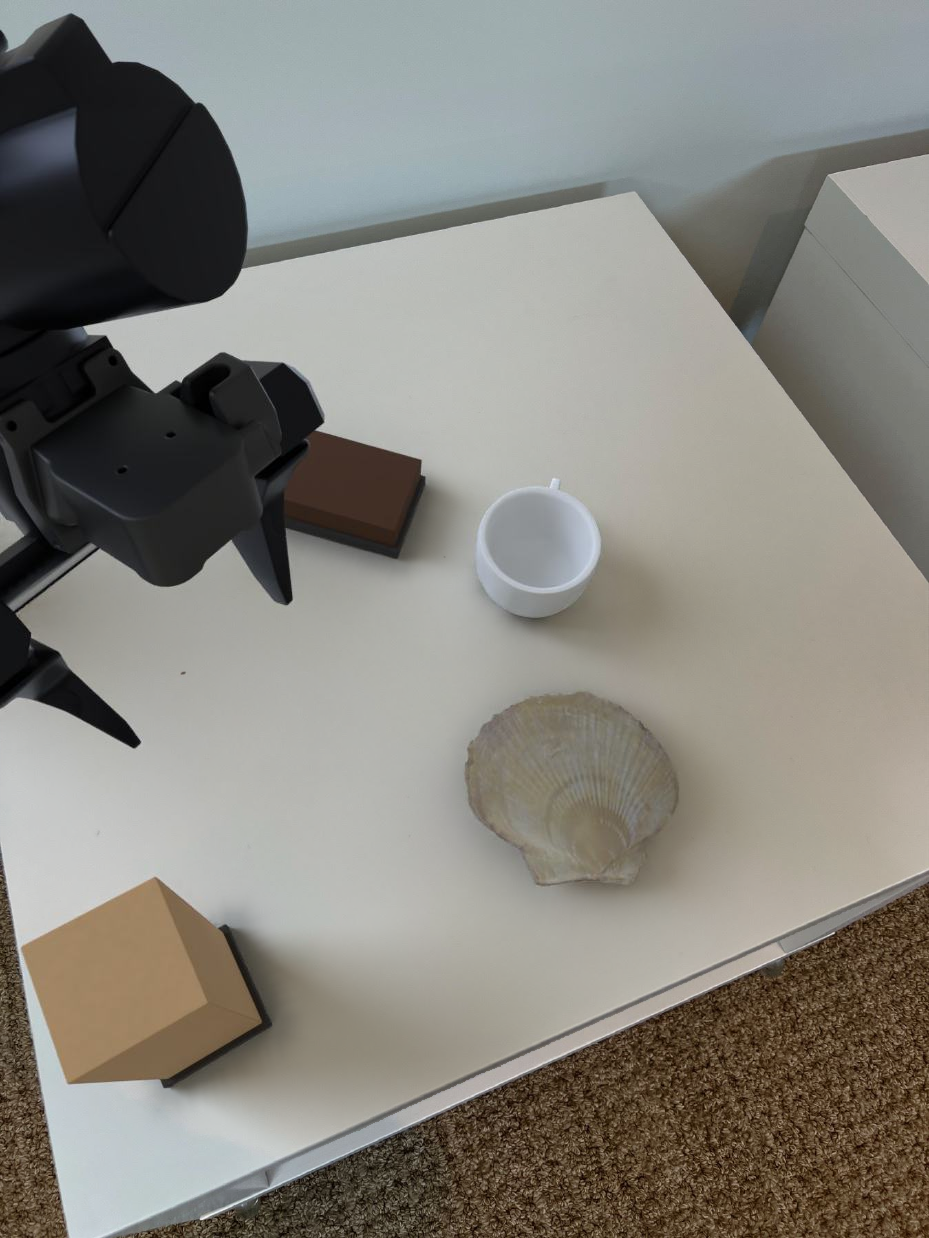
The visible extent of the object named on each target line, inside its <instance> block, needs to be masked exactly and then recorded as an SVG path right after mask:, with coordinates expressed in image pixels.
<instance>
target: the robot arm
mask: <svg viewBox="0 0 929 1238" xmlns="http://www.w3.org/2000/svg"><path fill="white" fill-rule="evenodd" d="M8 49H10V48H9V40H8V38H7V37H6V35H5V33H4V32H3V31H2V29H0V514H1V515H2V516H3V518H4V519H5V520H6V521H10V522H11V523H14V524H15V526H16V527H17V528H18V530H19V531H20V532H21V533H22V535H23V536H22V537H20V538H19V539H18V540H16V541H15V542H14V543H12V544H11V545H10V546H8V547H7V548H6V549H4V550H3V551H1V552H0V710H2V709H3V708H5V707H6V706H8V705H9V704H11V702H13V701H14V700H16V699H18V698H20V699H24V700H25V699H26V700H31V701H35V702H38V703H41V704H43V705H47V706H49V707H52V708H55V709H57V710H60V711H63V712H65V713H67V714H69V715H71V716H73V717H75V718H77V719H79V720H80V721H82V722H83V723H86V724H88V725H90V726H91V727H93V728H95V729H97V730H99V731H101V732H102V733H104V734H106V735H108V736H109V737H111V738H113V739H115V740H117V741H119V742H121V743H122V744H124V745H126V746H128V747H130V748H131V749H133V750H136V749H137V748H138V747H139V746H140V745H141V744H142V741H141V739H140V737H139V736H138V735H137V733H136V732H135V731H134V729H133V728H132V727H131V725H130V724H129V723H128V721H127V720H125V718H124V717H122V716H121V715H120V714H119V713H118V712H117V711H116V710H115V709H114V708H113V707H112V706H111V705H110V704H109V703H107V702H106V701H105V700H104V698H102V697H101V696H100V695H99V694H98V693H96V691H94V690H93V689H92V688H91V687H90V686H89V685H88V684H87V683H86V682H85V681H84V680H83V679H82V678H80V677H79V676H78V674H76V673H75V672H74V671H73V670H72V669H71V668H70V667H69V666H68V664H67V663H66V661H65V659H64V657H63V656H62V654H61V653H60V651H59V650H56V649H54V648H52V647H51V646H49V645H47V644H45V643H42V642H41V641H40V640H39V641H38V640H37V639H35V638H33V637H32V632H31V631H30V629H29V628H28V627H27V625H26V624H24V622H23V621H22V620H21V619H20V617H19V616H18V615H17V613H19V612H20V611H21V610H23V609H24V608H25V607H26V606H28V605H29V604H30V603H32V602H33V601H34V600H36V599H37V598H38V597H39V596H41V595H42V594H43V593H44V592H46V591H48V589H50V588H51V587H52V586H53V585H55V584H56V583H57V582H59V581H60V580H62V578H64V577H65V576H67V575H68V574H69V573H71V572H72V571H73V570H74V569H76V568H77V567H78V566H80V565H81V564H82V563H83V562H85V561H87V559H89V558H90V557H91V556H92V555H93V554H95V553H96V552H98V551H99V550H101V551H103V552H104V553H106V554H107V555H109V556H110V557H112V558H113V559H115V560H117V561H118V562H120V563H122V564H123V565H124V566H126V567H128V568H129V569H131V570H132V571H134V572H135V574H137V575H138V577H140V578H141V579H142V580H144V582H147V583H148V584H151V585H153V586H155V587H160V588H170V587H176V586H180V585H182V584H183V585H184V584H185V583H187V582H188V581H190V580H192V579H193V578H194V577H195V576H197V575H198V574H199V573H201V571H203V569H204V566H205V564H206V562H207V561H208V560H209V559H210V558H212V557H213V556H214V555H215V554H216V553H217V552H219V551H220V550H221V549H222V548H224V546H226V545H227V544H228V543H229V542H230V541H231V542H232V543H233V545H234V547H235V548H236V550H237V551H238V554H239V555H240V556H241V558H242V560H243V562H244V563H245V564H246V566H247V568H248V569H249V571H250V572H251V574H252V575H253V577H254V578H255V580H256V581H257V582H258V583H259V584H260V586H261V587H262V588H263V589H264V591H265V592H266V594H267V595H268V596H269V597H270V599H271V600H273V602H275V603H277V604H279V605H282V606H286V607H287V606H289V605H290V604H291V603H292V602H293V600H294V594H293V585H292V576H291V575H292V574H291V567H290V559H289V557H290V556H289V548H288V541H287V529H286V527H285V488H286V486H287V484H288V482H289V480H290V478H291V476H292V474H293V472H294V471H295V469H296V467H297V465H298V464H299V463H300V461H302V460H303V459H304V458H305V457H306V456H307V455H308V452H309V449H310V444H309V441H308V440H306V439H305V438H306V437H307V436H309V435H310V434H311V433H312V432H314V431H315V430H316V431H317V429H319V428H320V427H321V426H323V424H324V423H325V413H324V411H323V410H324V409H323V408H322V406H321V403H320V402H319V399H318V397H317V395H316V392H315V391H314V389H313V386H312V383H311V382H310V380H309V379H308V378H307V377H306V376H304V375H303V374H302V373H301V372H300V371H299V370H298V369H297V368H295V367H294V366H292V365H290V364H288V363H285V362H284V361H263V360H247V359H246V360H245V359H240V358H238V357H236V356H234V355H232V354H230V353H227V352H225V351H221V352H218V353H217V354H216V355H214V356H213V357H211V358H210V359H208V360H207V361H205V363H203V364H201V365H200V366H198V367H197V368H195V369H194V370H192V371H191V372H190V373H188V374H187V375H185V376H184V377H183V379H182V380H181V381H179V380H177V379H175V380H174V381H172V382H170V383H169V384H168V385H166V386H165V387H164V388H161V390H159V391H158V392H154V390H153V389H151V388H150V387H149V386H148V385H147V384H146V383H145V382H144V381H143V380H142V379H141V378H140V377H139V376H137V374H136V373H134V372H133V371H132V369H131V368H130V366H129V364H128V362H127V361H126V359H125V358H124V356H123V354H122V353H121V351H119V350H118V349H115V347H114V346H113V344H112V343H111V340H109V339H110V338H109V337H108V336H107V334H88V332H87V331H86V329H85V328H84V327H87V326H94V325H97V324H103V323H108V322H113V321H119V320H123V319H128V318H133V317H138V316H143V315H144V316H145V315H148V314H149V315H150V314H154V313H159V312H164V311H169V310H174V309H179V308H184V307H190V306H195V305H200V304H204V303H208V302H211V301H213V300H215V299H218V298H220V297H222V296H224V294H226V292H227V291H229V289H231V288H232V286H234V284H235V283H236V281H237V280H238V278H239V276H240V275H241V272H242V268H243V265H244V262H245V258H246V254H247V251H248V250H247V249H248V237H249V222H248V211H247V200H246V196H245V192H244V188H243V183H242V179H241V175H240V172H239V169H238V167H237V164H236V161H235V159H234V156H233V153H232V150H231V149H230V146H229V144H228V142H227V140H226V139H225V135H223V133H222V131H221V129H220V126H219V125H218V123H217V121H216V120H215V118H214V117H213V116H212V114H211V113H210V111H209V110H208V108H207V106H206V105H204V104H203V103H202V102H199V101H198V102H195V101H194V100H193V99H192V98H191V97H190V96H189V94H188V93H187V92H186V91H185V90H184V88H182V87H181V86H180V85H179V84H178V83H177V82H175V81H173V79H171V78H170V77H169V76H167V75H166V74H164V73H163V72H161V71H160V70H159V69H156V68H154V67H151V66H149V65H146V64H144V63H141V62H138V61H120V60H119V61H114V62H113V61H112V59H111V58H110V57H109V55H108V53H106V51H105V49H104V48H103V46H102V45H101V43H100V42H99V40H98V39H97V38H96V36H95V35H94V33H93V32H92V30H91V29H90V27H89V26H88V24H87V23H86V21H85V20H84V19H83V18H82V17H80V16H78V15H76V14H74V13H72V12H70V13H68V14H67V13H66V14H65V15H62V16H61V17H58V18H56V19H53V20H51V21H49V22H46V23H44V24H42V25H41V26H39V27H37V28H36V29H35V30H34V31H33V32H32V34H30V35H29V37H28V38H27V39H26V40H25V41H24V42H23V43H21V44H20V45H18V46H17V47H14V48H13V49H12V48H11V49H10V50H8Z"/></svg>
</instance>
